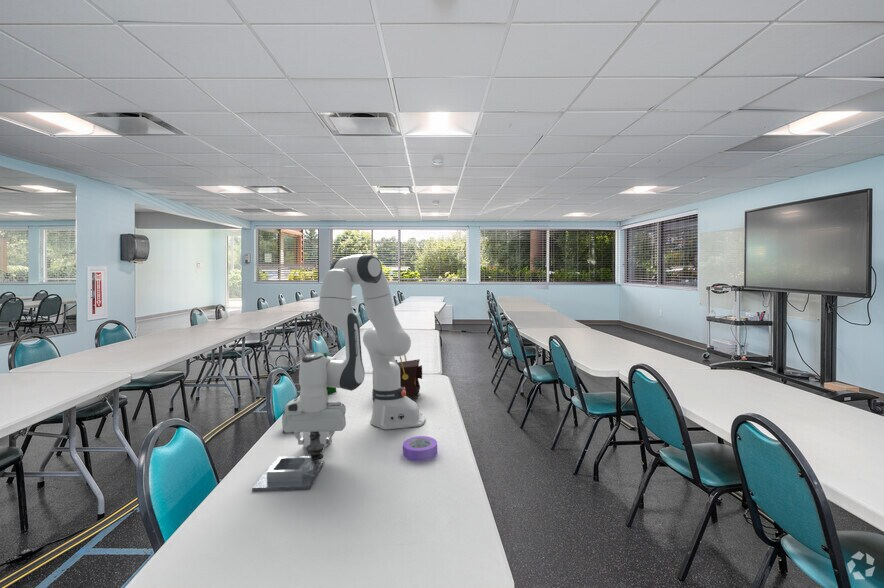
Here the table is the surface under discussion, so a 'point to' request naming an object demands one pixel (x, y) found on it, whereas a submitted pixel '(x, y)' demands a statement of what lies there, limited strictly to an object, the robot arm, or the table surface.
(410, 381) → the dark brown boxy piece
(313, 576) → the table surface
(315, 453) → the chess piece
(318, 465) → the plate
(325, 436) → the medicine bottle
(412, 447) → the masking tape
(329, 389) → the milk carton
